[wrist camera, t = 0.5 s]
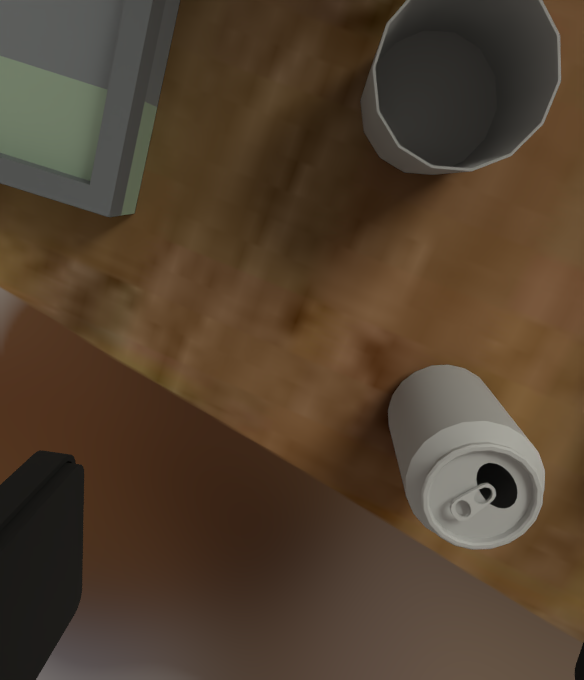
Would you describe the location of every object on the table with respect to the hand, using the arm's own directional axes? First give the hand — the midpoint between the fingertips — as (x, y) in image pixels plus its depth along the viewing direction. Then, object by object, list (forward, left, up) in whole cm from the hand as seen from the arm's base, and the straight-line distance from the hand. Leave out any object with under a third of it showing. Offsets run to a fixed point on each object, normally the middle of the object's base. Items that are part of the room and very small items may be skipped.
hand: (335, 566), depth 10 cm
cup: (-12, +2, -30) cm, 32 cm away
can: (+7, +10, -30) cm, 32 cm away
